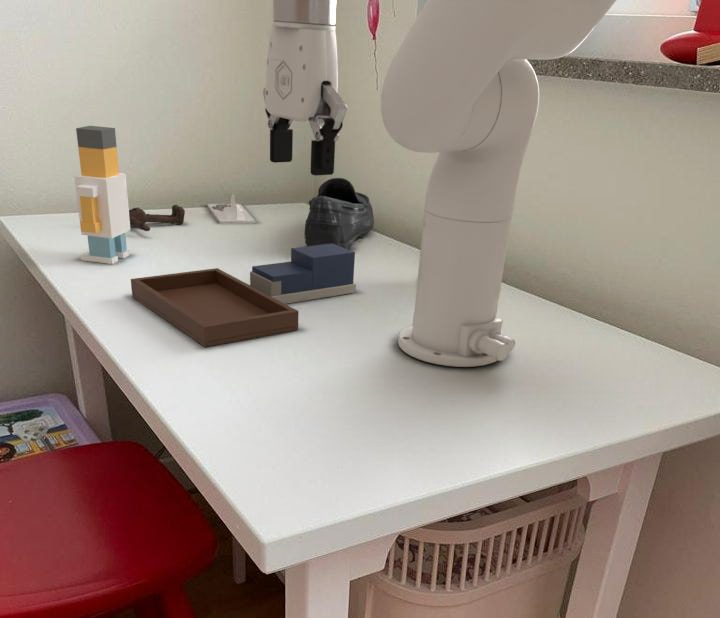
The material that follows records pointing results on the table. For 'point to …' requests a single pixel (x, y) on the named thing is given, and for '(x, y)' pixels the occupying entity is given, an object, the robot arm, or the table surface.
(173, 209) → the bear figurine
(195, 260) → the table surface
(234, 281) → the tray
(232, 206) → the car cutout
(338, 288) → the blue stair step block
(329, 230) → the loafer
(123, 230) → the character figure
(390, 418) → the table surface
